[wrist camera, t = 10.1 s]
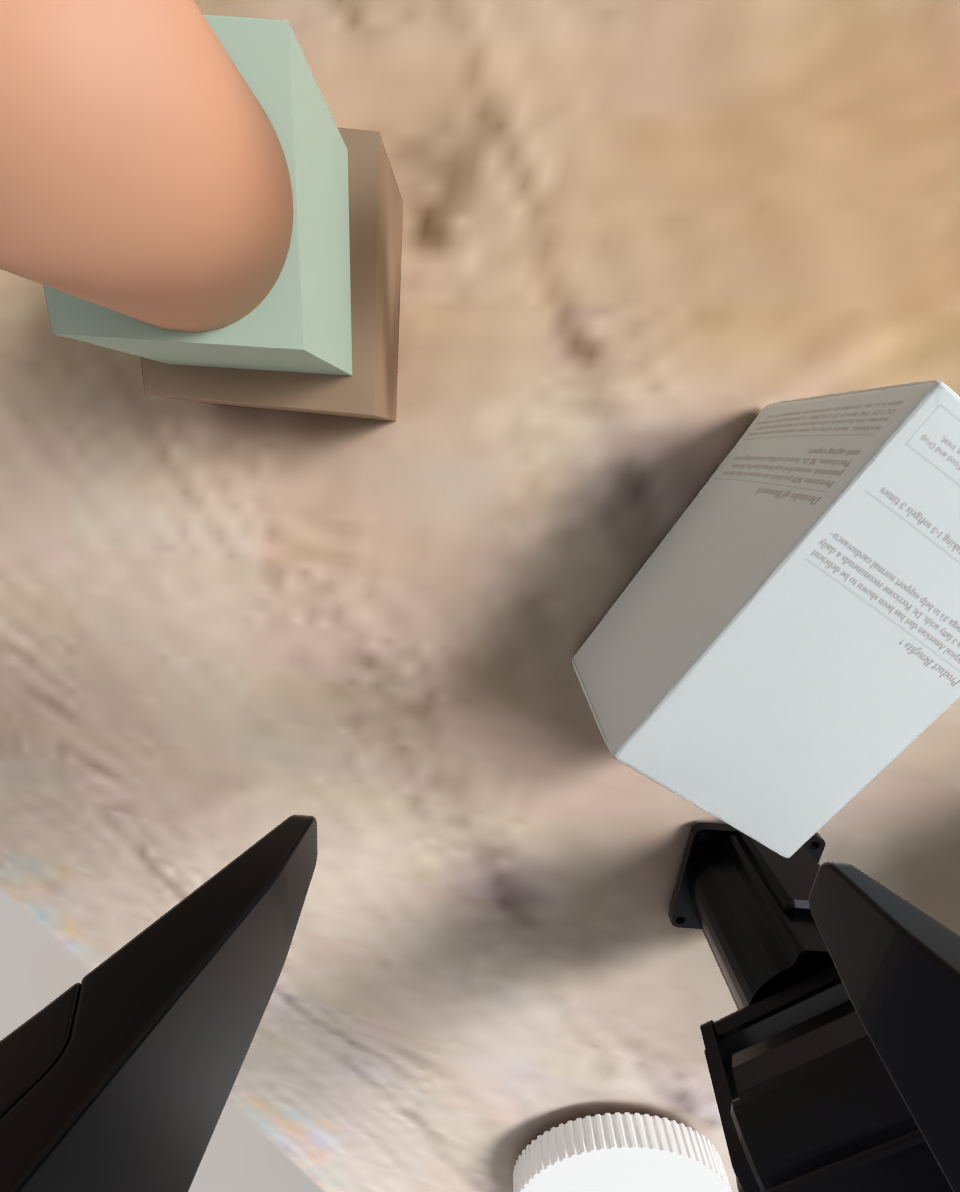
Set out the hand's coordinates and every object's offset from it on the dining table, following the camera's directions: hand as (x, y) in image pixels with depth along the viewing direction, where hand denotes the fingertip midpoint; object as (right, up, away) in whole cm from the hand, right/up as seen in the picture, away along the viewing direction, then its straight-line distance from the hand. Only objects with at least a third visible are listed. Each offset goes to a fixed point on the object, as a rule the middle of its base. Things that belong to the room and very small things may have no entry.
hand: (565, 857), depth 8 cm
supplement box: (+12, +9, +6) cm, 17 cm away
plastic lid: (+8, -34, +25) cm, 43 cm away
